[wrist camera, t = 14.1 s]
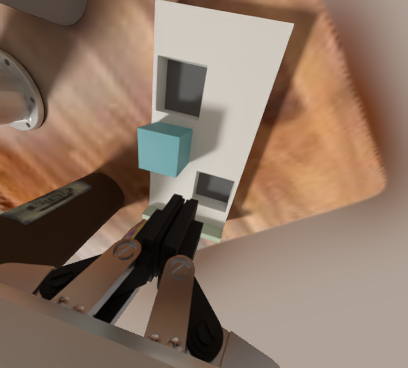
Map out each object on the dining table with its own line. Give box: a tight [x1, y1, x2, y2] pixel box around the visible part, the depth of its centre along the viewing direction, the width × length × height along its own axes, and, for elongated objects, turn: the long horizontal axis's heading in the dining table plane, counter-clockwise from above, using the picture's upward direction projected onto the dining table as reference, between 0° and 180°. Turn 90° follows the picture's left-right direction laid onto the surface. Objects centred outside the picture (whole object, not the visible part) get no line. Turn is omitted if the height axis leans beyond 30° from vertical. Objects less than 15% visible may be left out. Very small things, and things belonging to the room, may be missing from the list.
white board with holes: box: [142, 0, 294, 243], centre depth 24 cm, size 14×28×6 cm, turn 169°
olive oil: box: [0, 173, 124, 269], centre depth 25 cm, size 11×11×25 cm
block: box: [137, 122, 193, 178], centre depth 22 cm, size 5×5×5 cm
